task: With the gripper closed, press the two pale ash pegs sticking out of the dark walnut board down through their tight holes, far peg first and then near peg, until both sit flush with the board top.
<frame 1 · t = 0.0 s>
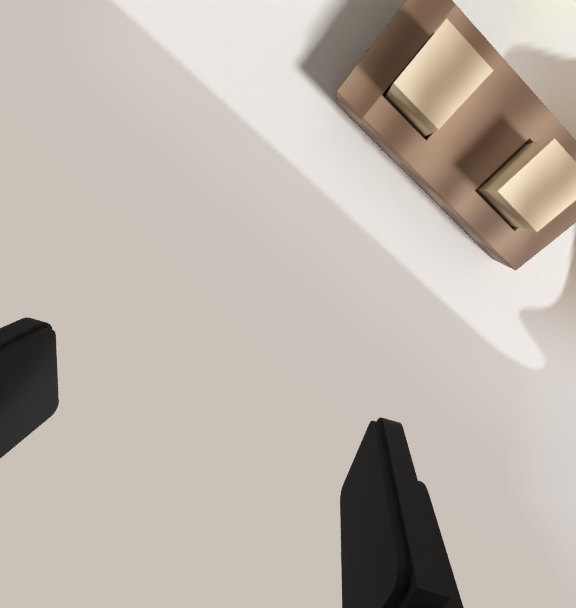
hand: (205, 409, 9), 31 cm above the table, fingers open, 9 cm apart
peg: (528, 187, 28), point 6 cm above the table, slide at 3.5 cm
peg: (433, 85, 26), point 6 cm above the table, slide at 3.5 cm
peg board: (456, 145, 33), on the table
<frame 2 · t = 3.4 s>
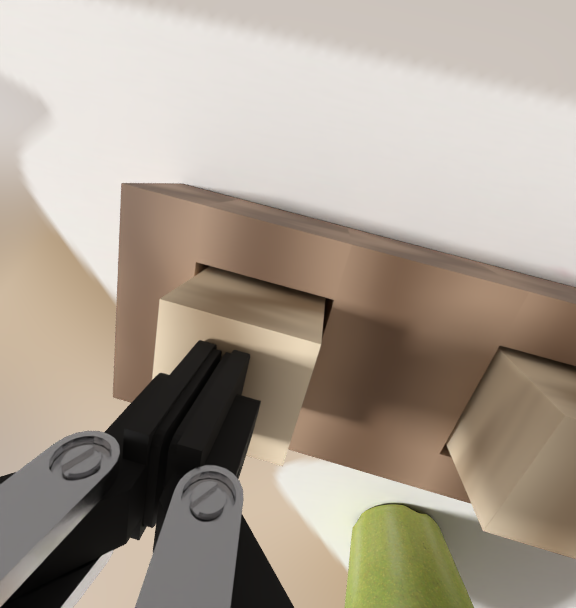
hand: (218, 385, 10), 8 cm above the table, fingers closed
plant pot: (393, 530, 23), on the table
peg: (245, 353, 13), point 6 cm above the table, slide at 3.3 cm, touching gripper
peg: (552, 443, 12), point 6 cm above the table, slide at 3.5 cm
peg board: (376, 330, 18), on the table
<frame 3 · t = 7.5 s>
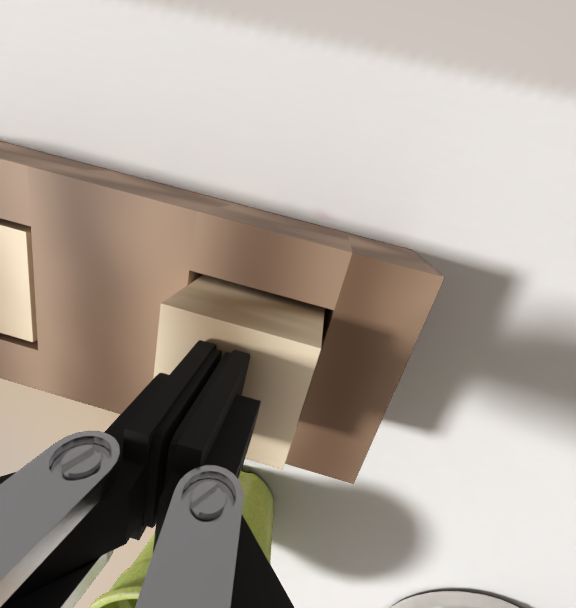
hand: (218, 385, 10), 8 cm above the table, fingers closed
plant pot: (232, 492, 23), on the table
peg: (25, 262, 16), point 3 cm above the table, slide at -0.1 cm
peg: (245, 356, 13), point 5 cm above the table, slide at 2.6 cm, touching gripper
peg board: (166, 280, 18), on the table
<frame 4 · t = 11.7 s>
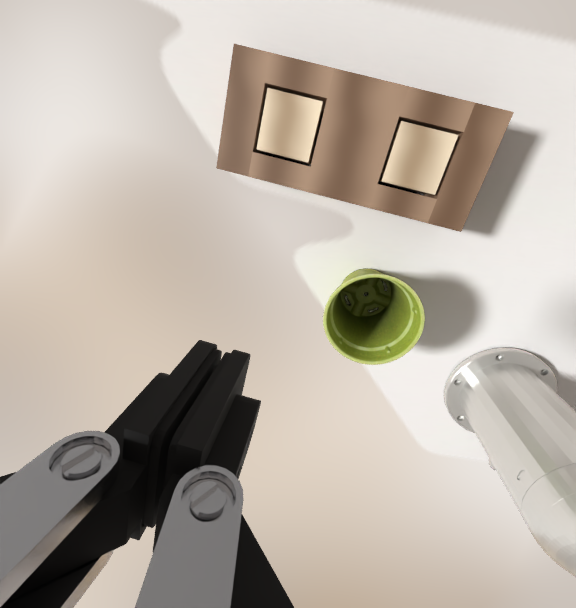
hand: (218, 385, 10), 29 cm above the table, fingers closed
plant pot: (364, 292, 39), on the table
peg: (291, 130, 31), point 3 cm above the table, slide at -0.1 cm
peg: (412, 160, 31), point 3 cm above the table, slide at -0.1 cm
peg board: (350, 147, 33), on the table
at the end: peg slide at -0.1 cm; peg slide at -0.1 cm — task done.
